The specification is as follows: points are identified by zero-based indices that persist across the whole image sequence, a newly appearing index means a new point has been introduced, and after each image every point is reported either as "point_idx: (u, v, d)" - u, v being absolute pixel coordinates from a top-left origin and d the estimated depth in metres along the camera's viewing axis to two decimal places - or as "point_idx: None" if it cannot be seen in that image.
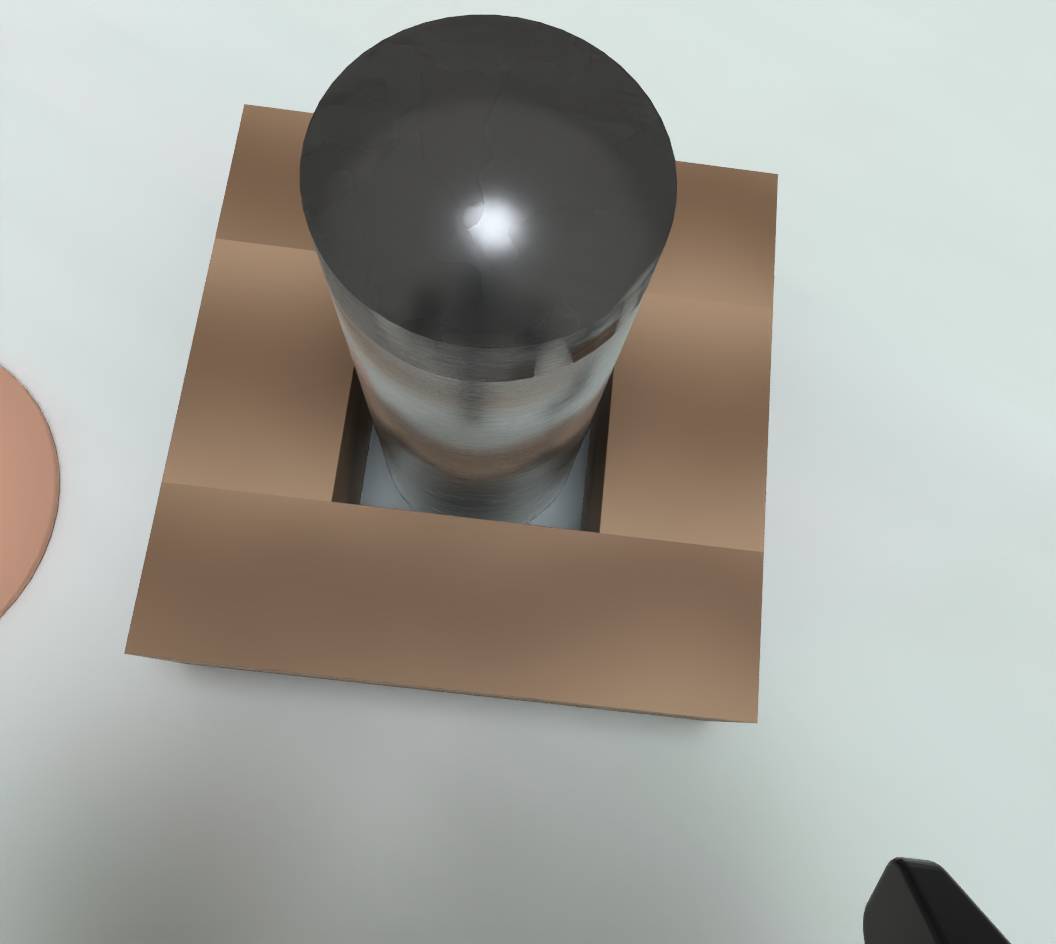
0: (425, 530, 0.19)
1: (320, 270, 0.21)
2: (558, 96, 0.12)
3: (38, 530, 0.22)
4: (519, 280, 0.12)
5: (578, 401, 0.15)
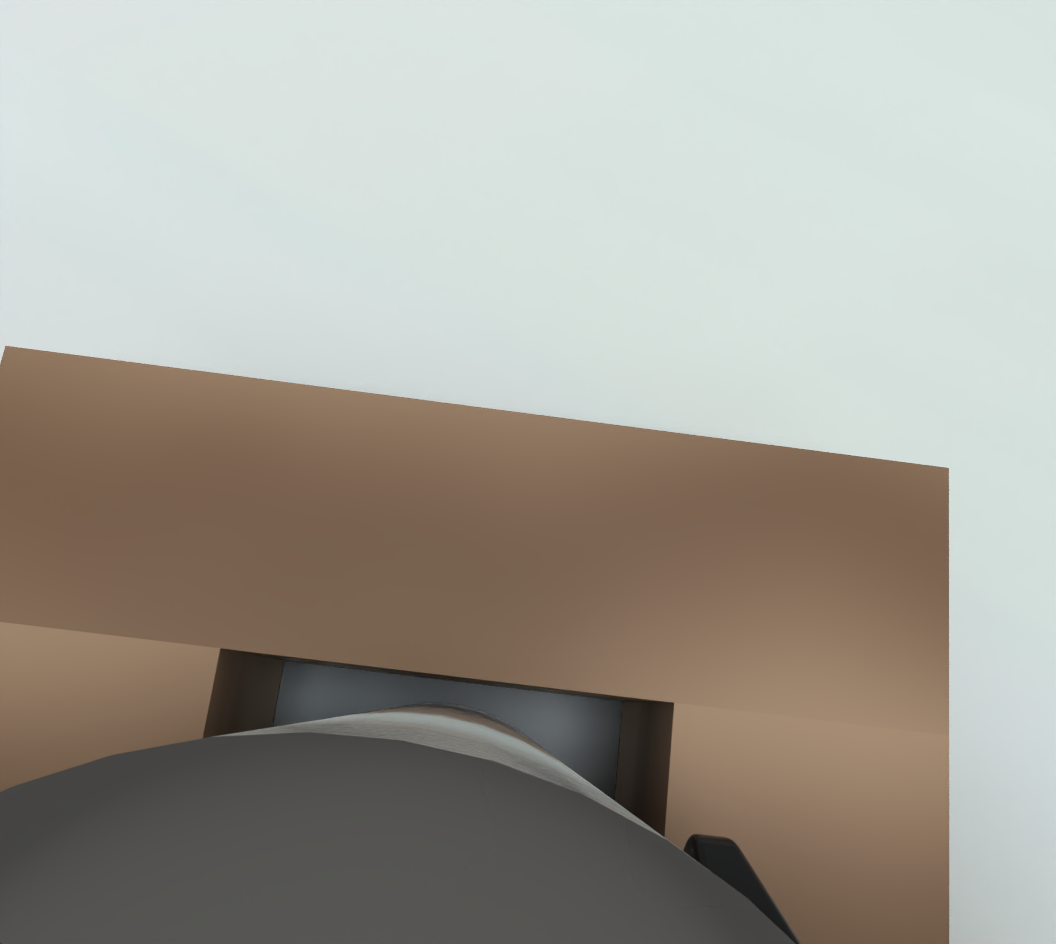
0: None
1: (123, 676, 0.11)
2: None
3: None
4: None
5: None
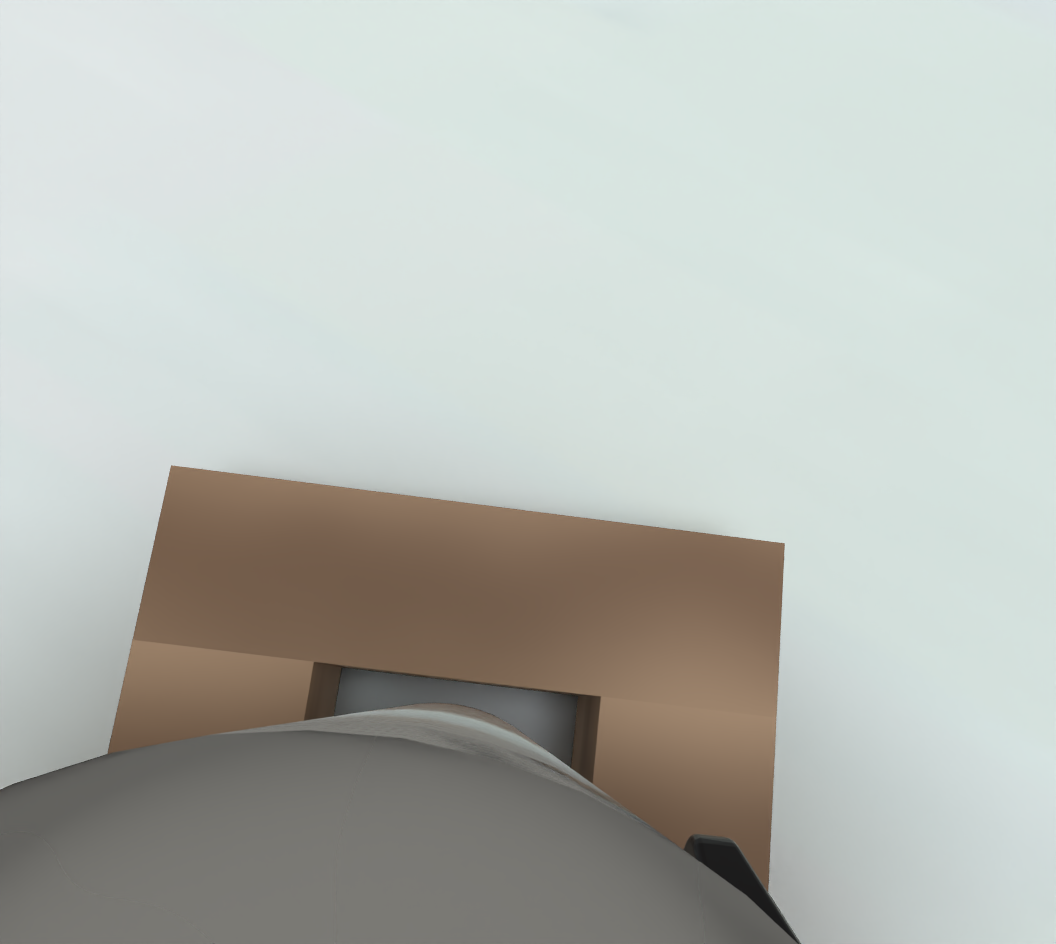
0: None
1: (253, 679, 0.18)
2: None
3: None
4: None
5: None
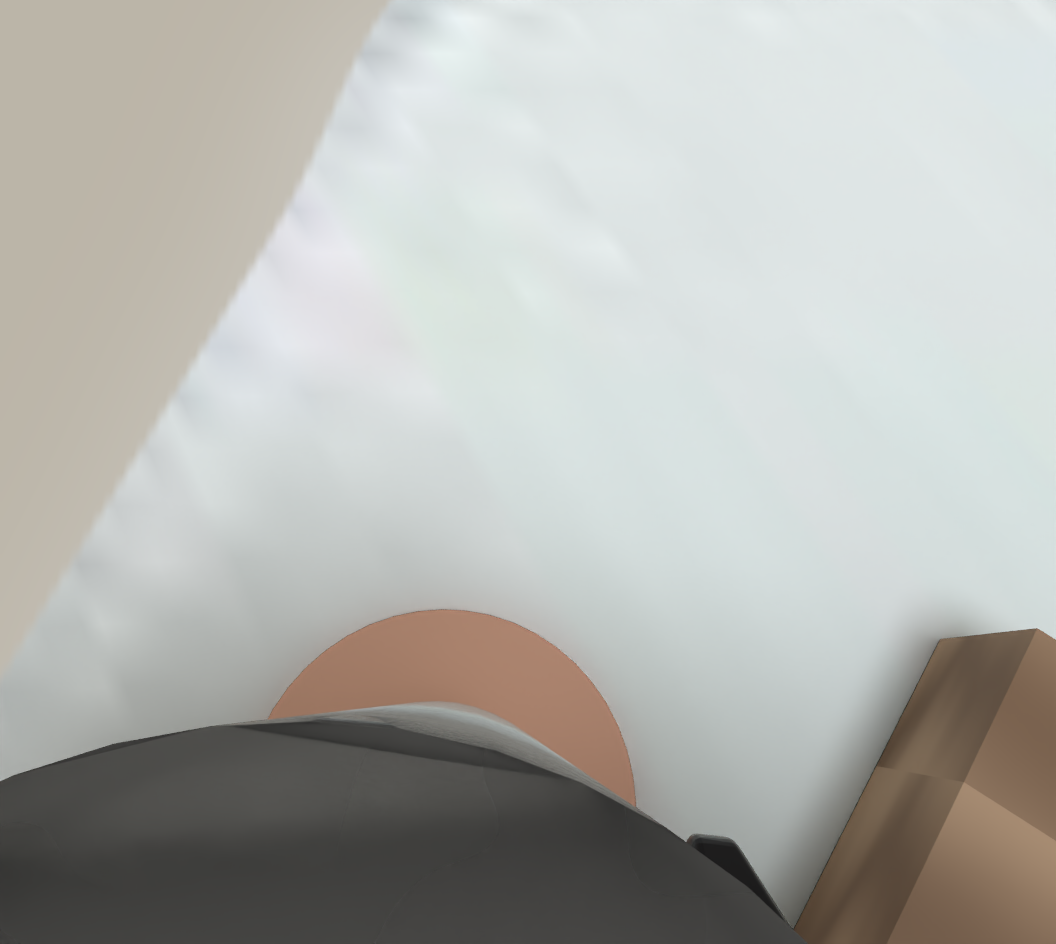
0: None
1: None
2: None
3: None
4: None
5: None
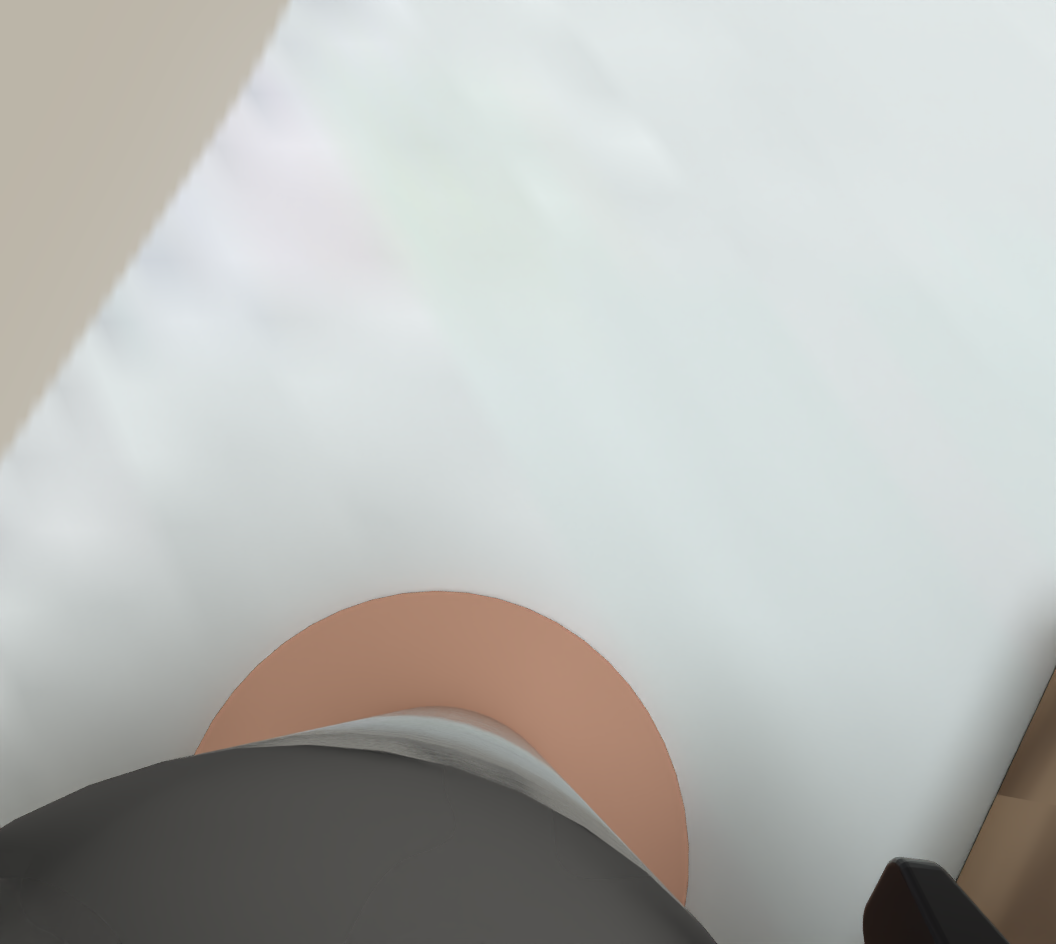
0: None
1: None
2: None
3: None
4: None
5: None
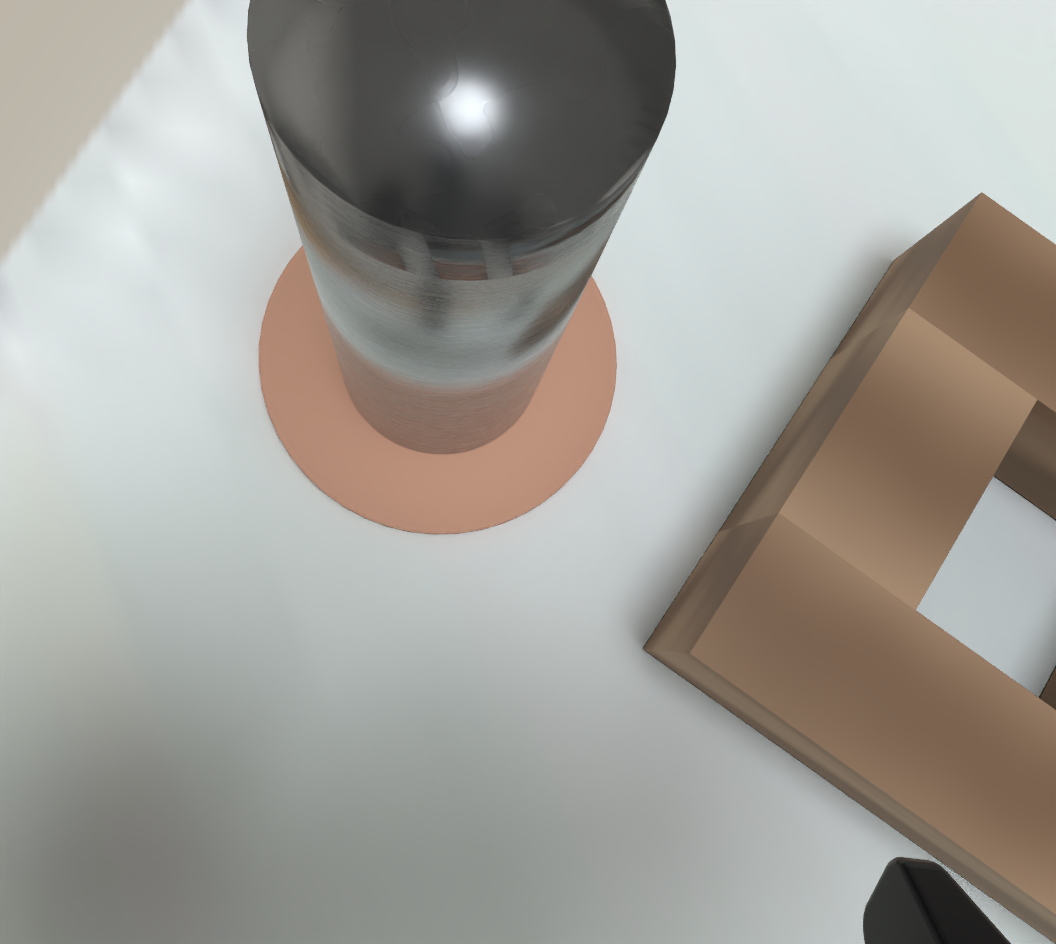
0: (986, 681, 0.19)
1: (988, 387, 0.20)
2: None
3: (575, 463, 0.23)
4: (492, 164, 0.10)
5: (549, 312, 0.14)
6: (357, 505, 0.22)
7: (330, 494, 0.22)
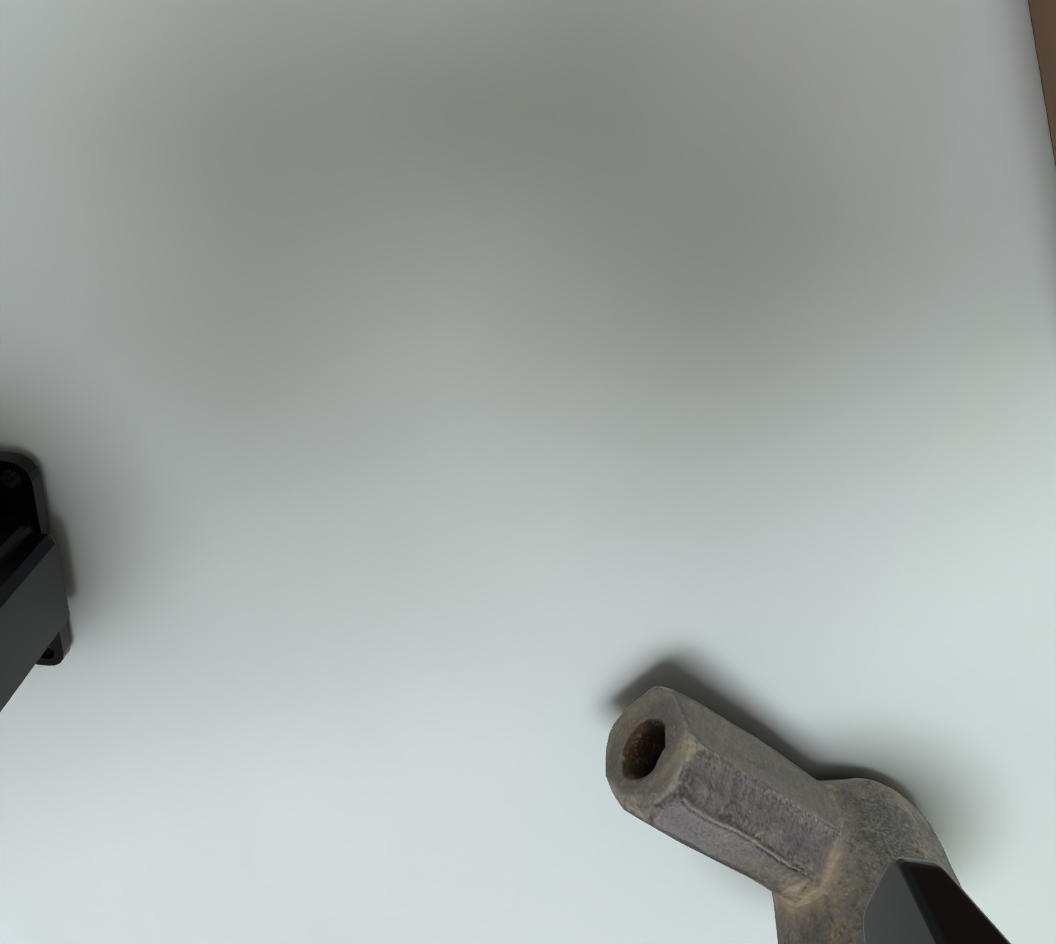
0: None
1: None
2: None
3: None
4: None
5: None
6: None
7: None
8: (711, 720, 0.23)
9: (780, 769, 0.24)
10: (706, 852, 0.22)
